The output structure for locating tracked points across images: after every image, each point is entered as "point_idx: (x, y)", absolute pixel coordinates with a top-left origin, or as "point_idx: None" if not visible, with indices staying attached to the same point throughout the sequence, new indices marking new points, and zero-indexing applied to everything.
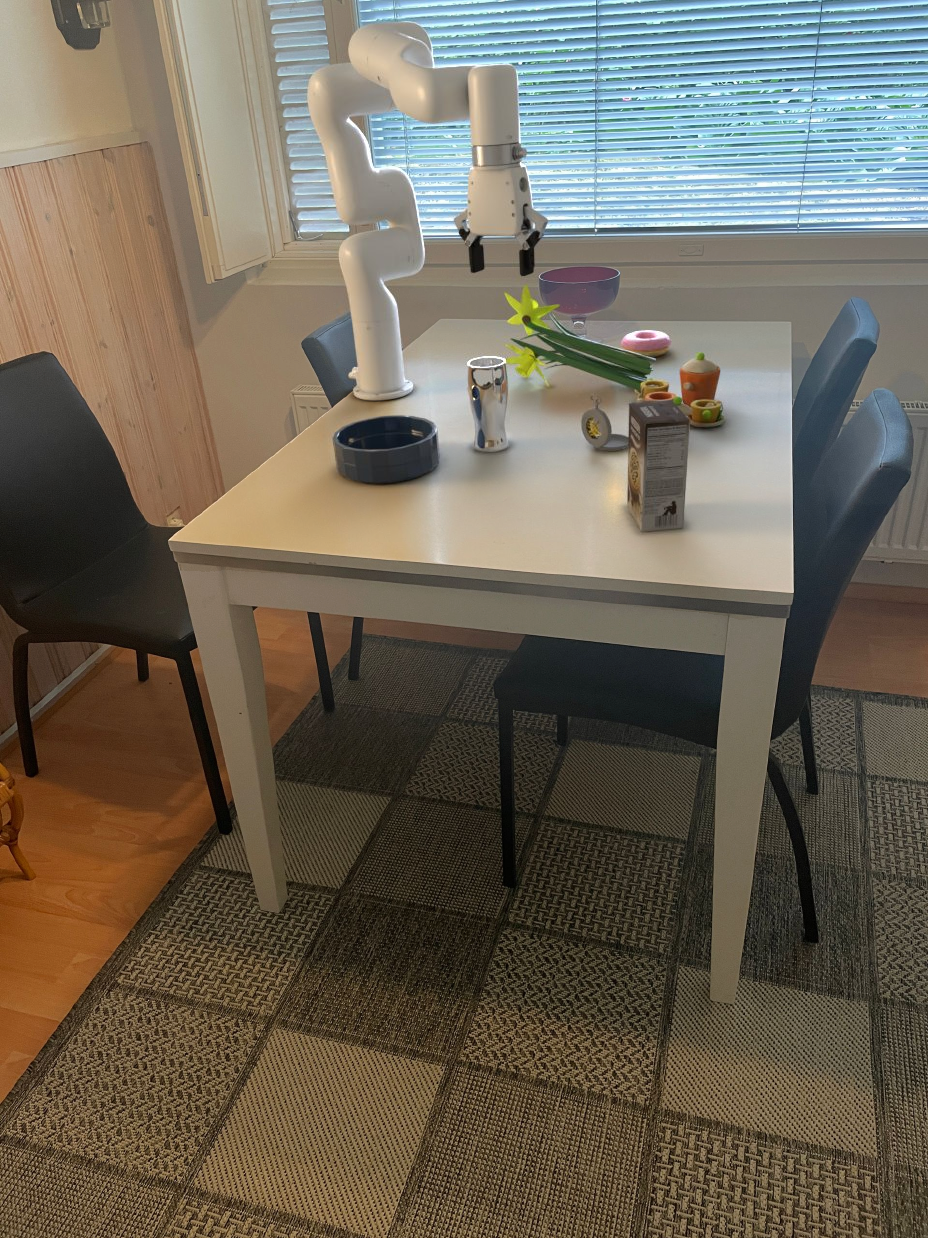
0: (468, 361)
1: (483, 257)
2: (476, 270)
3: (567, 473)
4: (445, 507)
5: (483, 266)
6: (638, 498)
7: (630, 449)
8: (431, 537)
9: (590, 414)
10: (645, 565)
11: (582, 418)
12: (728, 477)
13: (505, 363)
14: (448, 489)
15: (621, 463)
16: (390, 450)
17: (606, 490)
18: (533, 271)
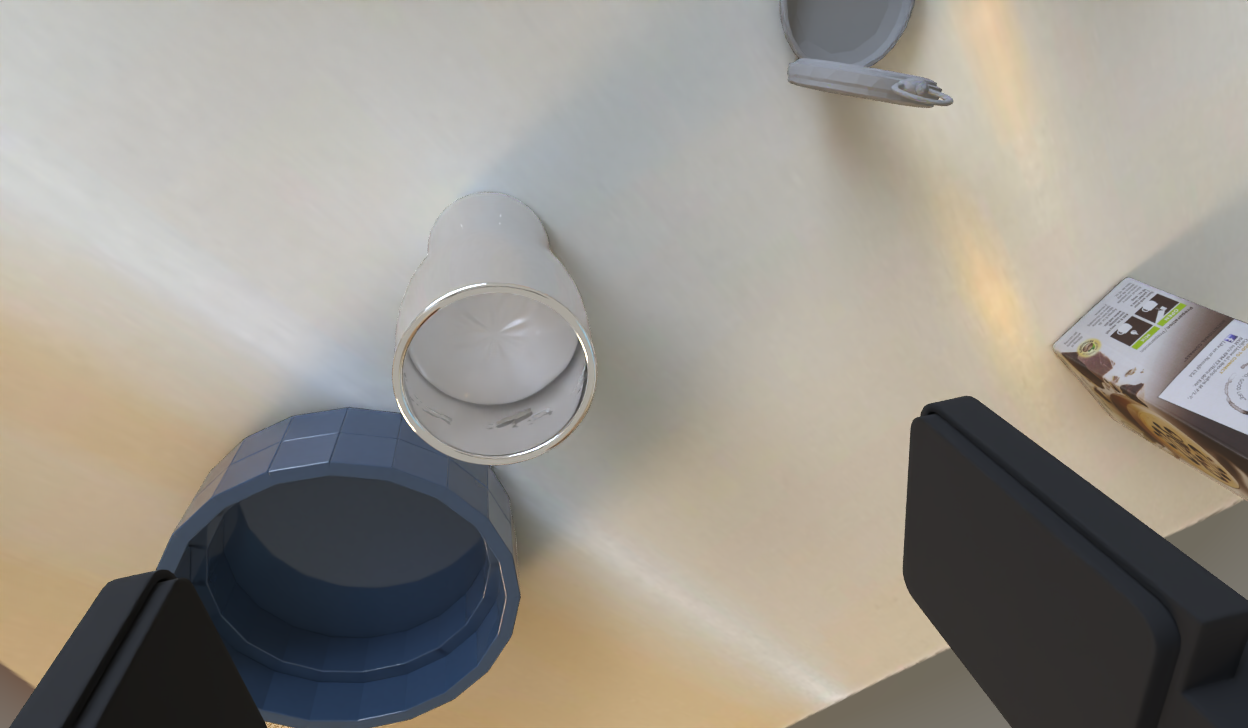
0: (409, 422)
1: (118, 713)
2: (256, 721)
3: (831, 275)
4: (693, 582)
5: (181, 614)
6: (1155, 440)
7: (1199, 445)
8: (763, 665)
9: (866, 98)
10: (1150, 503)
11: (812, 87)
12: (1237, 29)
13: (575, 315)
14: (627, 526)
15: (934, 119)
16: (493, 663)
17: (971, 300)
18: (966, 400)
